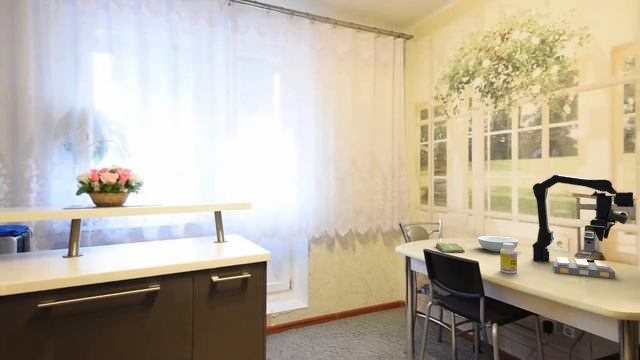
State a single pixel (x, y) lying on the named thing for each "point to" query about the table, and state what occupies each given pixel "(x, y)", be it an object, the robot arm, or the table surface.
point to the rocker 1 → (562, 261)
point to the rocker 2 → (581, 262)
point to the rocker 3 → (601, 264)
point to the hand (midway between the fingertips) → (603, 239)
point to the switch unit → (583, 270)
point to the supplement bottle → (508, 258)
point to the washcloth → (449, 247)
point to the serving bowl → (495, 242)
